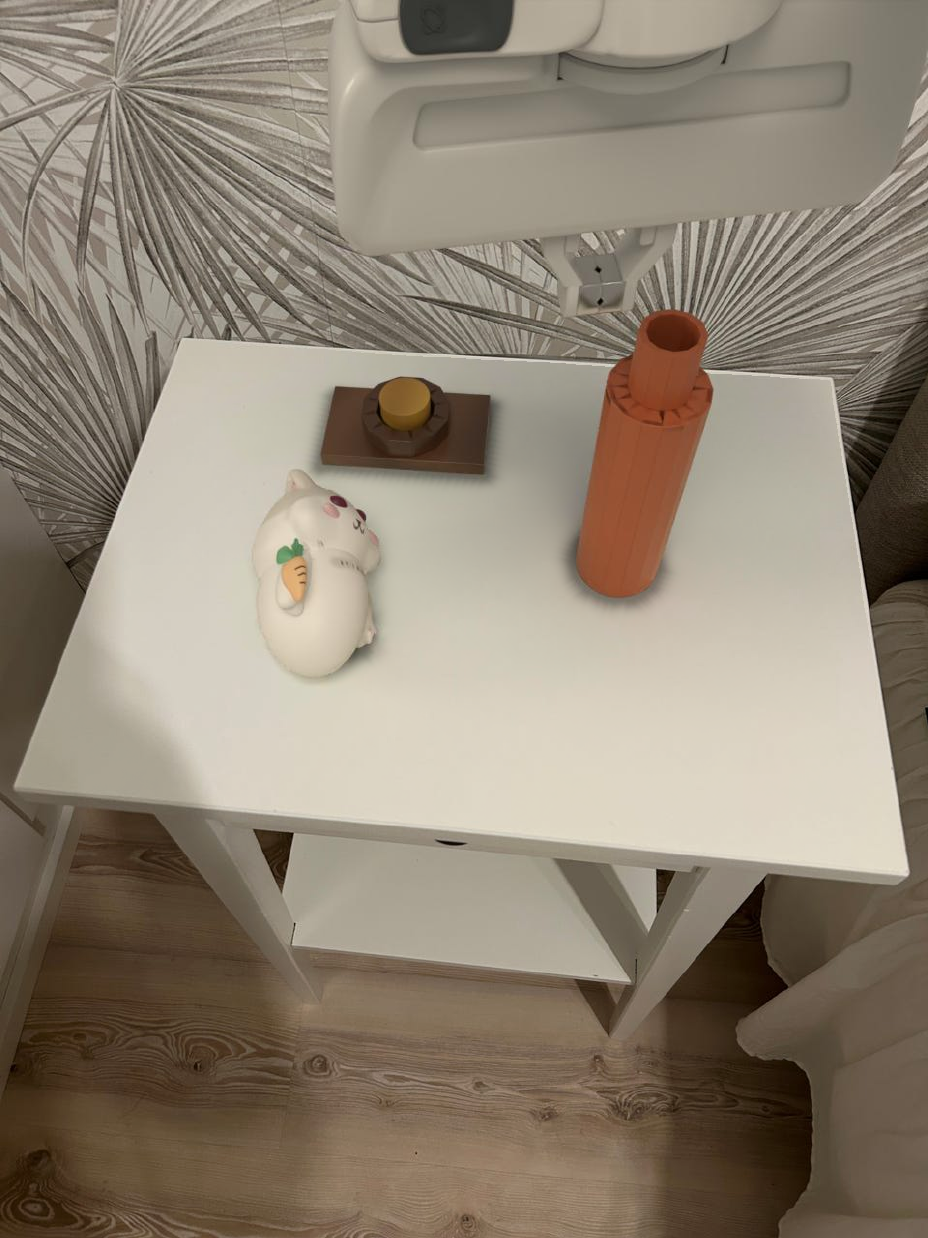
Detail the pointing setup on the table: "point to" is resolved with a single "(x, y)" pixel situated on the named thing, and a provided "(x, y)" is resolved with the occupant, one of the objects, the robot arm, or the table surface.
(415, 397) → the button
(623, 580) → the orange bottle
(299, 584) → the cat figurine
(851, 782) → the table surface
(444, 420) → the brown button base
